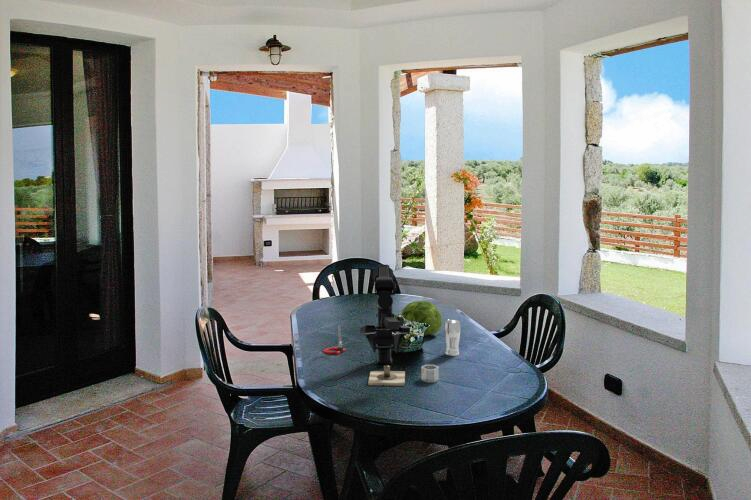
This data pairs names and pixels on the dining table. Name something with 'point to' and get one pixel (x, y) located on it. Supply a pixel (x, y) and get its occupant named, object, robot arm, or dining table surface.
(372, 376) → the birch base board
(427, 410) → the dining table surface
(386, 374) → the bronze post
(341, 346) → the tow hook
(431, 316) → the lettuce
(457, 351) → the beer glass
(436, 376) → the aluminium ring
